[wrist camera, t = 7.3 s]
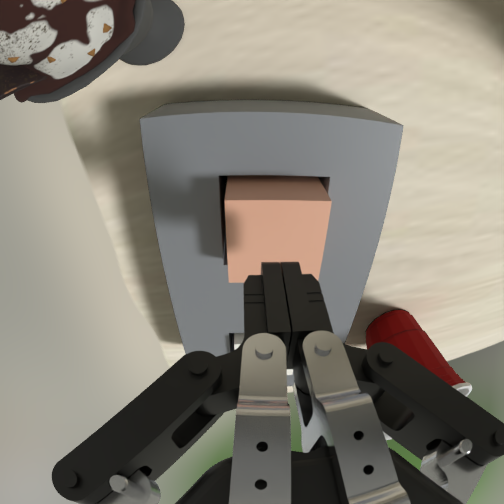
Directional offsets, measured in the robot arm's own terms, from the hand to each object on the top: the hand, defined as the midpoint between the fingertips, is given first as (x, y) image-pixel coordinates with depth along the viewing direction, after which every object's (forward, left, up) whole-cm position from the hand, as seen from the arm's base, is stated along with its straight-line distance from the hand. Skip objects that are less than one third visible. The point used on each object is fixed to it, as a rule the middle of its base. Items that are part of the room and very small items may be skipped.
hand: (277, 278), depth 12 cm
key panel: (0, +6, -10) cm, 11 cm away
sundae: (+7, -11, -10) cm, 17 cm away
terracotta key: (0, 0, -7) cm, 7 cm away
